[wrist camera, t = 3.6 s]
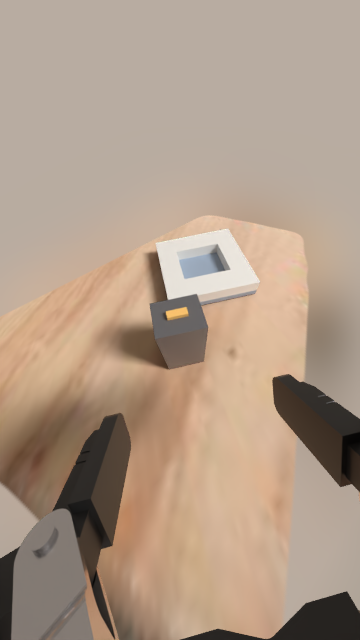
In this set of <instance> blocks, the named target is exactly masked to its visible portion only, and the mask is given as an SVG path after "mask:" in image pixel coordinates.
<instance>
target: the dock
mask: <svg viewBox="0 0 360 640" xmlns="http://www.w3.org/2000/svg"><path fill="white" fill-rule="evenodd" d="M156 247H157V252H158V256H159V261H160V266H161V270H162V275H163V279H164V284H165V288H166V293H167V297H168V300H170V299H175V298H179V297H184V296H189V295H193V294H197V295H198V298H199V301H200V304H201V305H204V304H209V303H214V302H218V301H223V300H227V299H232V298H237V297H241V296H246V295H251V294H255V292H256V290H257V288H258V286H259V284H260V281H259V279H258V278H257V276H256V274H255V273H254V271H253V269H252V268H251V266H250V264H249V263H248V261H247V259H246V258H245V256H244V254H243V253H242V251H241V249H240V248H239V246H238V244H237V243H236V241H235V239H234V238H233V236H232V234H231V233H230V231H229V229H223V230H218V231H213V232H208V233H203V234H198V235H193V236H188V237H183V238H178V239H173V240H168V241H163V242H158V243H156Z"/></svg>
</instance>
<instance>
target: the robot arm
mask: <svg viewBox="0 0 360 640" xmlns="http://www.w3.org/2000/svg"><path fill="white" fill-rule="evenodd" d="M272 381H273V395H274V404H275V407H276V410H277V411H278V413H279V415H280V416H281V417H282V418H283V419H284V421H285V422H286V423H287V424H288V425H289V427H290V428H291V429H292V430H293V431H294V433H295V434H296V435H297V436H298V437H299V438H300V440H301V441H302V442H303V443H304V444H305V446H306V447H307V448H308V449H309V450H310V451H311V453H312V454H313V455H314V456H315V457H316V458H317V460H318V461H319V462H320V463H321V465H322V466H323V467H324V468H325V469H326V470H327V472H328V473H329V474H330V475H331V476H332V478H333V479H334V480H335V481H336V482H337V483H338V484H339V486H340V487H342V486H346V485H350V484H353V486H354V487H355V488H356V489H357V490H358V491H359V500H360V419H359V418H357V417H356V416H355V415H353V414H352V413H351V412H349V411H348V410H346V409H345V408H343V407H342V406H341V405H340V404H338V403H335V402H334V400H333V399H331V398H330V397H328V396H326V395H325V394H324V393H323V392H321V391H320V390H319V389H317V388H316V387H314V386H312V385H309V384H307V383H305V382H299V381H297V380H296V379H295V378H294V377H292V376H291V375H289V374H286V375H282V376H278V377H274V378H273V380H272ZM130 450H131V441H130V436H129V433H128V430H127V427H126V424H125V421H124V418H123V415H122V414H121V413H118V414H114V415H110V416H106V417H105V418H104V419H103V422H102V424H101V426H100V429H99V430H95V431H94V432H93V433H92V434H91V436H90V437H89V438H88V439H87V440H86V442H85V444H84V446H83V448H82V450H81V452H80V455H79V457H78V459H77V461H76V465H74V467H73V469H72V471H71V473H70V476H69V478H68V480H67V482H66V484H65V486H64V488H63V490H62V492H61V495H60V497H59V499H58V501H57V503H56V505H55V507H54V509H53V511H52V512H51V513H49V514H47V515H46V516H45V517H44V518H42V519H41V520H40V521H39V522H38V523H37V524H36V525H35V526H34V527H33V528H32V530H31V531H30V532H29V533H28V535H27V536H26V538H25V539H24V541H23V543H22V544H21V546H20V547H18V548H17V549H15V550H14V551H12V552H10V553H9V554H7V555H5V556H4V557H2V558H0V640H119V638H118V635H117V631H116V628H115V624H114V621H113V618H112V614H111V611H110V607H109V604H108V600H107V597H106V593H105V590H104V586H103V583H102V579H101V576H100V573H99V569H98V567H97V564H98V559H99V555H100V551H101V549H102V548H106V547H110V546H112V545H113V540H114V534H115V529H116V524H117V519H118V513H119V508H120V503H121V498H122V492H123V487H124V482H125V477H126V471H127V466H128V461H129V456H130ZM181 640H360V611H359V610H358V609H357V608H356V606H355V604H354V602H353V601H352V599H351V597H350V596H349V594H348V592H343V593H340V594H336V595H333V596H329V597H326V598H322V599H319V600H315V601H312V602H309V603H306V604H305V605H304V606H303V607H302V608H301V609H300V610H299V611H298V612H297V613H296V614H295V615H294V616H293V617H292V618H291V619H290V620H289V621H288V622H287V623H286V624H285V625H284V626H283V627H282V628H281V629H280V630H279V631H278V632H277V633H276V634H275V635H274V636H273V637H272V638H270V639H262V638H257V637H253V636H248V635H244V634H239V633H235V632H230V631H226V630H221V629H216V630H212V631H209V632H205V633H202V634H198V635H195V636H191V637H188V638H185V639H181Z"/></svg>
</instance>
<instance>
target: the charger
mask: <svg viewBox="0 0 360 640" xmlns="http://www.w3.org/2000/svg"><path fill="white" fill-rule="evenodd" d="M150 310H151V316H152V323H153V330H154V336H155V341H156V343H157V345H158V347H159V349H160V351H161V353H162V355H163V357H164V360H165V362H166V364H167V366H168V368H169V369H173V368H177V367H182V366H186V365H190V364H195V363H199V362H203V361H204V356H205V348H206V341H207V333H208V325H207V322H206V319H205V316H204V313H203V310H202V307H201V304H200V301H199V298H198V295H197V294H193V295H189V296H184V297H179V298H175V299H170V300H165V301H160V302H156V303H151V304H150Z"/></svg>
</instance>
